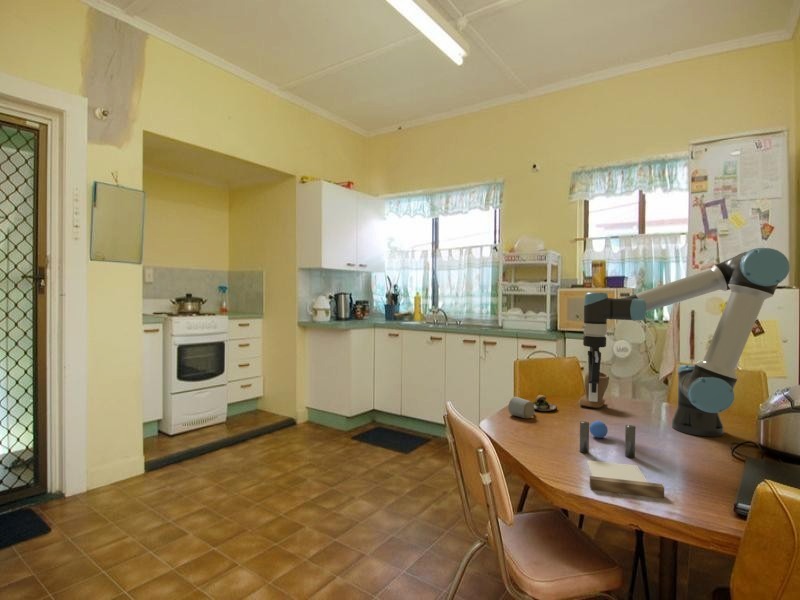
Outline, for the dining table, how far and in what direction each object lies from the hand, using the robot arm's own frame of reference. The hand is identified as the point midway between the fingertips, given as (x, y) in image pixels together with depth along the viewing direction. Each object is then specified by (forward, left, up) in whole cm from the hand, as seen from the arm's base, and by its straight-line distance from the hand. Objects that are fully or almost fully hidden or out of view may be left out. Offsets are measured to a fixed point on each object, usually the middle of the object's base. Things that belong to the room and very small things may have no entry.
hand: (593, 400), depth 155 cm
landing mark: (0, +40, -10) cm, 41 cm away
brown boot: (-5, -36, -10) cm, 38 cm away
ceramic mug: (+24, -9, -10) cm, 28 cm away
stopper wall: (0, +52, -10) cm, 53 cm away
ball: (0, +10, -7) cm, 12 cm away
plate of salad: (+17, -23, -11) cm, 30 cm away
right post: (-7, +26, -10) cm, 29 cm away
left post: (+6, +26, -10) cm, 29 cm away
